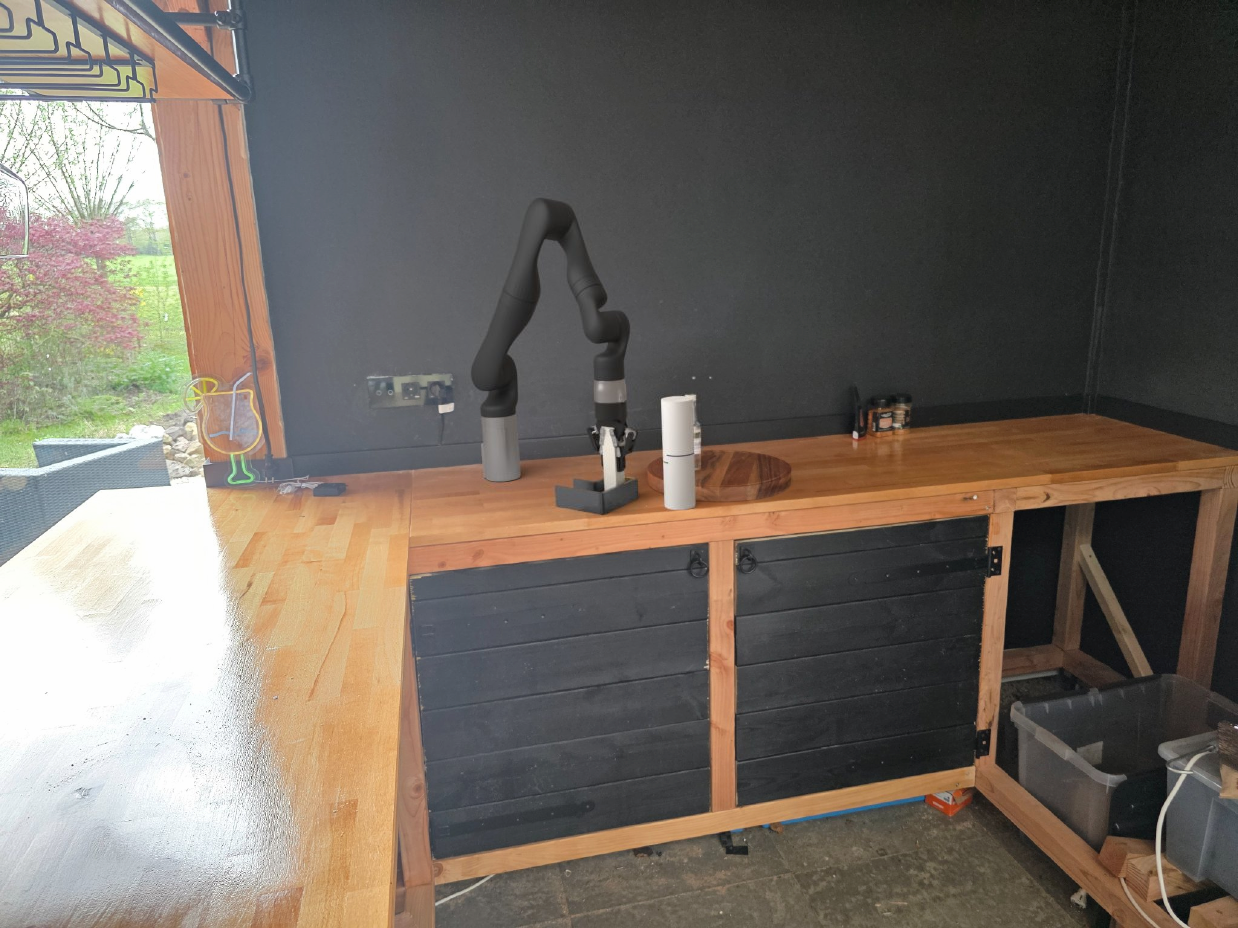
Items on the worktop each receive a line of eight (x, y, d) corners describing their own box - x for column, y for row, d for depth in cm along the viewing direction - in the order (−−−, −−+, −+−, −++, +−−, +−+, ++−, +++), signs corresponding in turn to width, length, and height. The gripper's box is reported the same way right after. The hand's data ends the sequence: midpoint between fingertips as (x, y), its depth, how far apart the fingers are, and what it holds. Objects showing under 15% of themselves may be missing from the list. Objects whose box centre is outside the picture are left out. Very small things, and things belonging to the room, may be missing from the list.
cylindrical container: (684, 511, 190) (681, 402, 184) (658, 507, 194) (654, 400, 188) (701, 503, 196) (698, 397, 189) (675, 499, 200) (672, 395, 194)
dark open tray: (556, 506, 199) (554, 486, 197) (593, 490, 210) (591, 471, 209) (602, 514, 191) (601, 493, 189) (638, 498, 202) (637, 478, 201)
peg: (604, 492, 200) (601, 426, 196) (613, 488, 203) (610, 423, 199) (616, 494, 198) (613, 428, 194) (625, 490, 201) (622, 425, 197)
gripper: (576, 399, 196) (580, 470, 200) (625, 403, 188) (628, 477, 192) (596, 393, 202) (599, 463, 206) (644, 397, 193) (647, 470, 198)
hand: (613, 469), depth 199 cm, fingers closed on peg, 3 cm apart
